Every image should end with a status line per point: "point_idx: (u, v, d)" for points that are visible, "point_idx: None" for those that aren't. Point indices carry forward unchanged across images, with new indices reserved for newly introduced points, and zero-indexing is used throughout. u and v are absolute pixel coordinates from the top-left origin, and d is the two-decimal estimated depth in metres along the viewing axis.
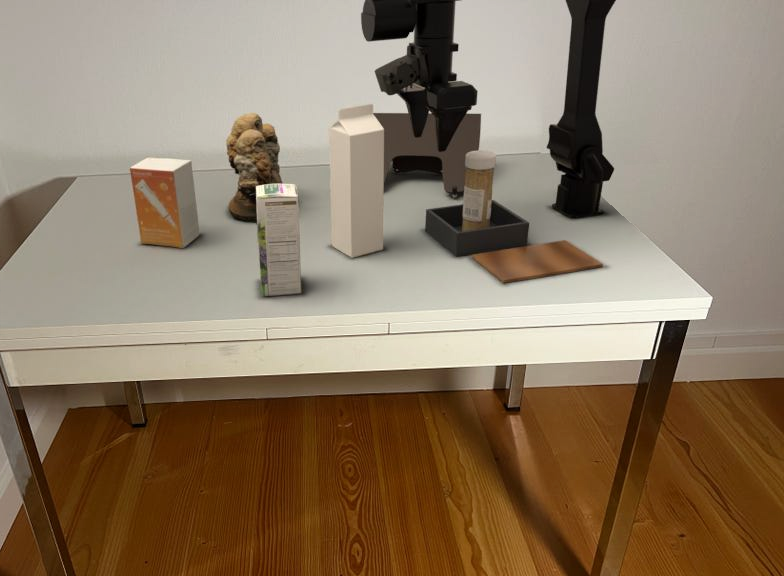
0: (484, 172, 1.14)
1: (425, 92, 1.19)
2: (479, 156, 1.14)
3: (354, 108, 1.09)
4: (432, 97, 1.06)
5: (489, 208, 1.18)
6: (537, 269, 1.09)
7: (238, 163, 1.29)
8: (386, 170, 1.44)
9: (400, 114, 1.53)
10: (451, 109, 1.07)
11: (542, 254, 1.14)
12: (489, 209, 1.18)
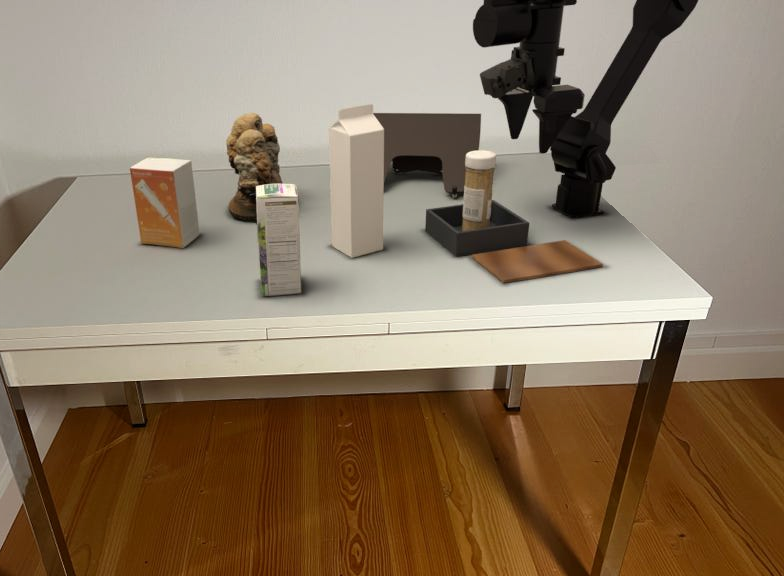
0: (484, 172, 1.14)
1: (524, 95, 1.21)
2: (479, 156, 1.14)
3: (354, 108, 1.09)
4: (540, 100, 1.09)
5: (489, 208, 1.18)
6: (537, 269, 1.09)
7: (238, 163, 1.29)
8: (386, 170, 1.44)
9: (400, 114, 1.53)
10: (557, 112, 1.10)
11: (542, 254, 1.14)
12: (489, 209, 1.18)
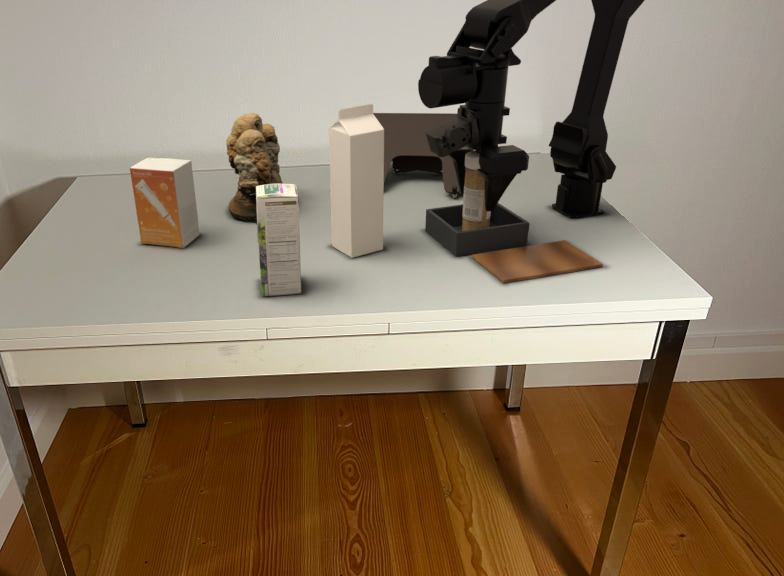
0: None
1: None
2: None
3: (354, 108, 1.09)
4: (484, 161, 1.08)
5: None
6: (537, 269, 1.09)
7: (238, 163, 1.29)
8: (386, 170, 1.44)
9: (400, 114, 1.53)
10: (502, 173, 1.09)
11: (542, 254, 1.14)
12: None
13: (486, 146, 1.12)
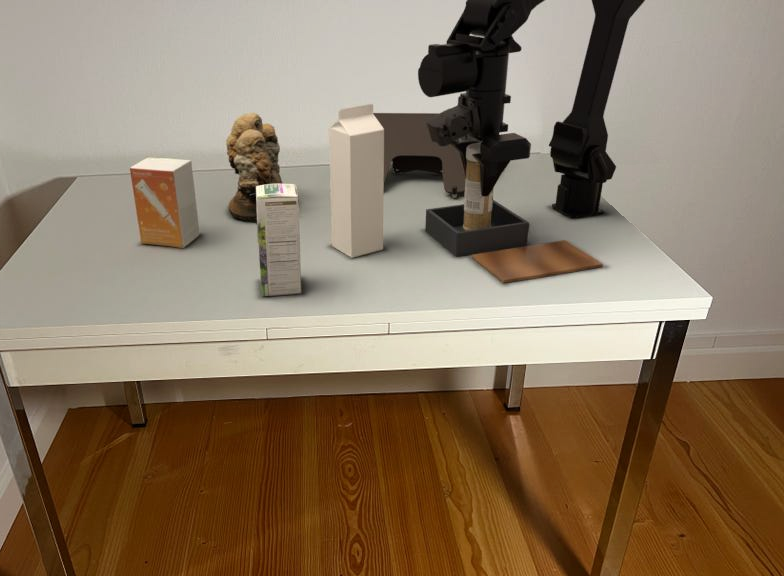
0: None
1: None
2: None
3: (354, 108, 1.09)
4: (486, 150, 1.07)
5: (490, 201, 1.18)
6: (537, 269, 1.09)
7: (239, 163, 1.29)
8: (386, 170, 1.44)
9: (400, 114, 1.53)
10: None
11: (542, 254, 1.14)
12: (490, 202, 1.18)
13: (487, 134, 1.11)
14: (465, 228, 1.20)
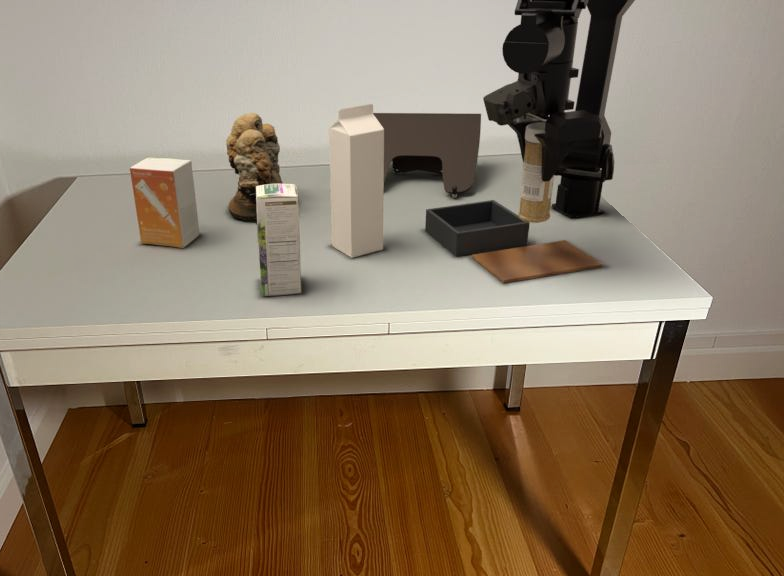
0: None
1: None
2: (542, 128, 1.03)
3: (354, 108, 1.09)
4: (552, 129, 0.97)
5: (551, 186, 1.07)
6: (537, 269, 1.09)
7: (238, 163, 1.29)
8: (386, 170, 1.44)
9: (400, 114, 1.53)
10: None
11: (542, 254, 1.14)
12: (551, 187, 1.07)
13: (552, 112, 1.00)
14: (521, 217, 1.10)
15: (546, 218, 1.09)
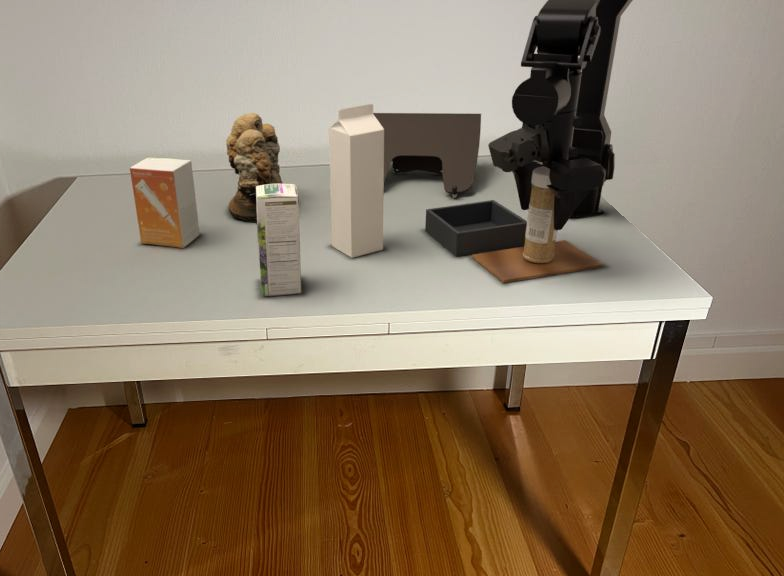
0: None
1: (536, 163, 1.11)
2: None
3: (354, 108, 1.09)
4: (556, 177, 0.98)
5: None
6: (537, 269, 1.09)
7: (238, 163, 1.29)
8: (386, 170, 1.44)
9: (400, 114, 1.53)
10: (575, 189, 0.99)
11: None
12: (556, 230, 1.09)
13: (556, 159, 1.02)
14: (526, 257, 1.12)
15: (550, 259, 1.11)
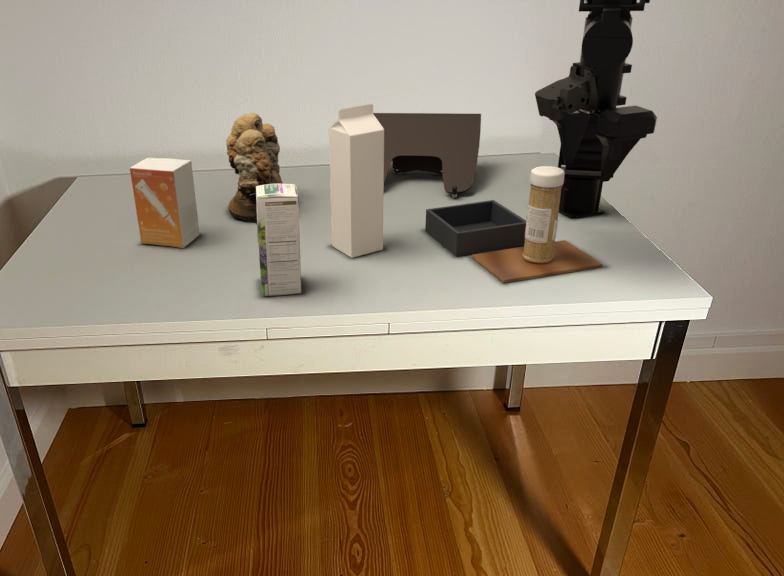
0: (552, 190, 1.05)
1: (580, 115, 1.09)
2: (547, 173, 1.05)
3: (354, 108, 1.09)
4: (606, 124, 0.97)
5: (555, 228, 1.09)
6: (537, 269, 1.09)
7: (238, 163, 1.29)
8: (386, 170, 1.44)
9: (400, 114, 1.53)
10: (626, 137, 0.98)
11: None
12: (555, 230, 1.09)
13: (604, 108, 1.00)
14: (526, 257, 1.12)
15: (550, 259, 1.11)
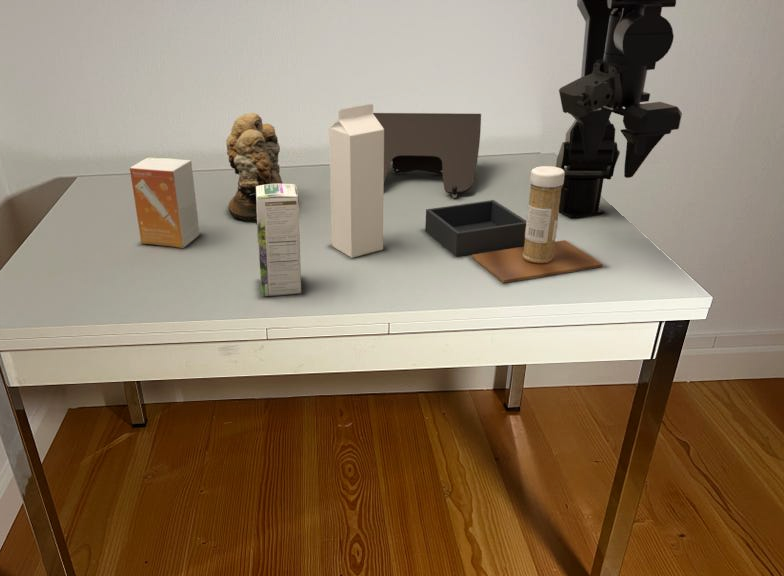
0: (552, 190, 1.05)
1: (602, 112, 1.10)
2: (547, 173, 1.05)
3: (354, 108, 1.09)
4: (632, 120, 0.97)
5: (555, 228, 1.09)
6: (537, 269, 1.09)
7: (238, 163, 1.29)
8: (386, 170, 1.44)
9: (400, 114, 1.53)
10: (651, 133, 0.98)
11: None
12: (555, 230, 1.09)
13: (628, 104, 1.01)
14: (526, 257, 1.12)
15: (550, 259, 1.11)
